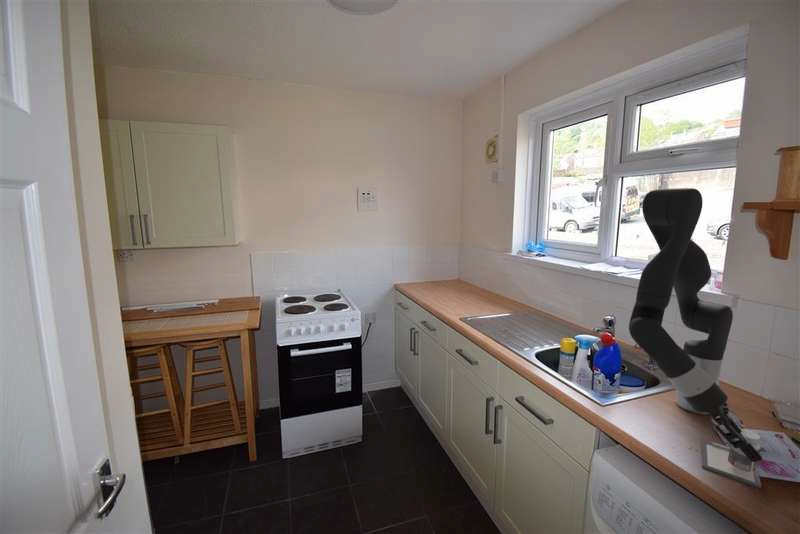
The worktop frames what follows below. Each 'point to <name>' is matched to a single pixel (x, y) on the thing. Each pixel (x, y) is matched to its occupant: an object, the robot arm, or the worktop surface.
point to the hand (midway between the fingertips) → (755, 453)
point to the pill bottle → (740, 458)
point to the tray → (725, 463)
